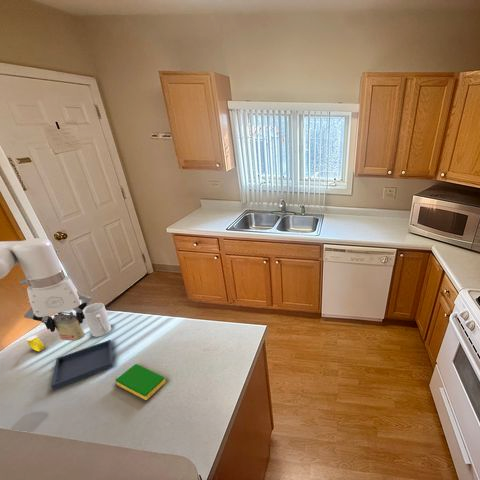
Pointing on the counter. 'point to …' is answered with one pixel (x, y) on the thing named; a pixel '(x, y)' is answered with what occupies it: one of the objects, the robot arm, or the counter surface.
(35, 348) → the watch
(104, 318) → the mug
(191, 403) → the counter surface
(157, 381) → the dish sponge
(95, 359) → the tray
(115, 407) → the counter surface
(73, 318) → the lighter
